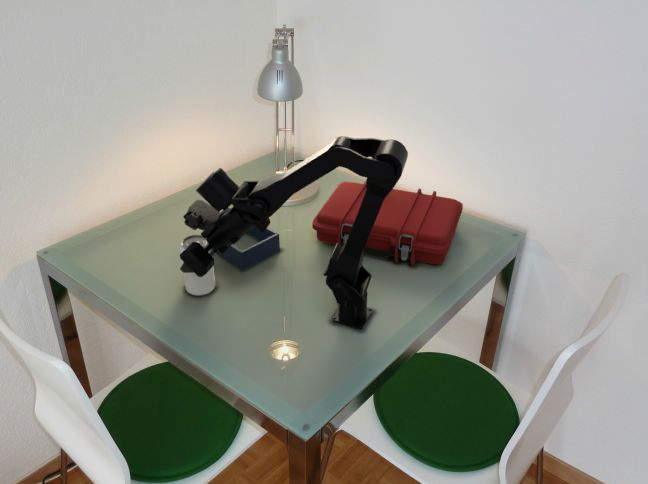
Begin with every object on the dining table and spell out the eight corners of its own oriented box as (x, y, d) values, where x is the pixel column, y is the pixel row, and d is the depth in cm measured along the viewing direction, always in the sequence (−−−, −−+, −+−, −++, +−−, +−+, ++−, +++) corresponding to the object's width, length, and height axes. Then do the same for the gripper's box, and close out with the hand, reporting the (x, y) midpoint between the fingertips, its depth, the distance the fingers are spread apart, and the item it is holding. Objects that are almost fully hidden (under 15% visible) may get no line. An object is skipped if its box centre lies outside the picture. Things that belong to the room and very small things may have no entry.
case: (280, 250, 150) (279, 233, 147) (243, 270, 143) (241, 253, 141) (244, 229, 158) (243, 213, 155) (208, 247, 152) (206, 230, 149)
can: (219, 291, 137) (214, 245, 130) (190, 299, 135) (183, 253, 128) (210, 275, 142) (205, 230, 135) (182, 283, 140) (175, 238, 133)
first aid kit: (461, 223, 159) (465, 193, 154) (443, 275, 140) (447, 242, 136) (341, 202, 169) (341, 173, 164) (309, 247, 151) (309, 217, 146)
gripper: (228, 173, 131) (188, 210, 141) (182, 217, 117) (141, 254, 126) (265, 212, 133) (223, 246, 142) (224, 260, 118) (180, 294, 128)
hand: (192, 258), depth 135 cm, fingers open, 9 cm apart
